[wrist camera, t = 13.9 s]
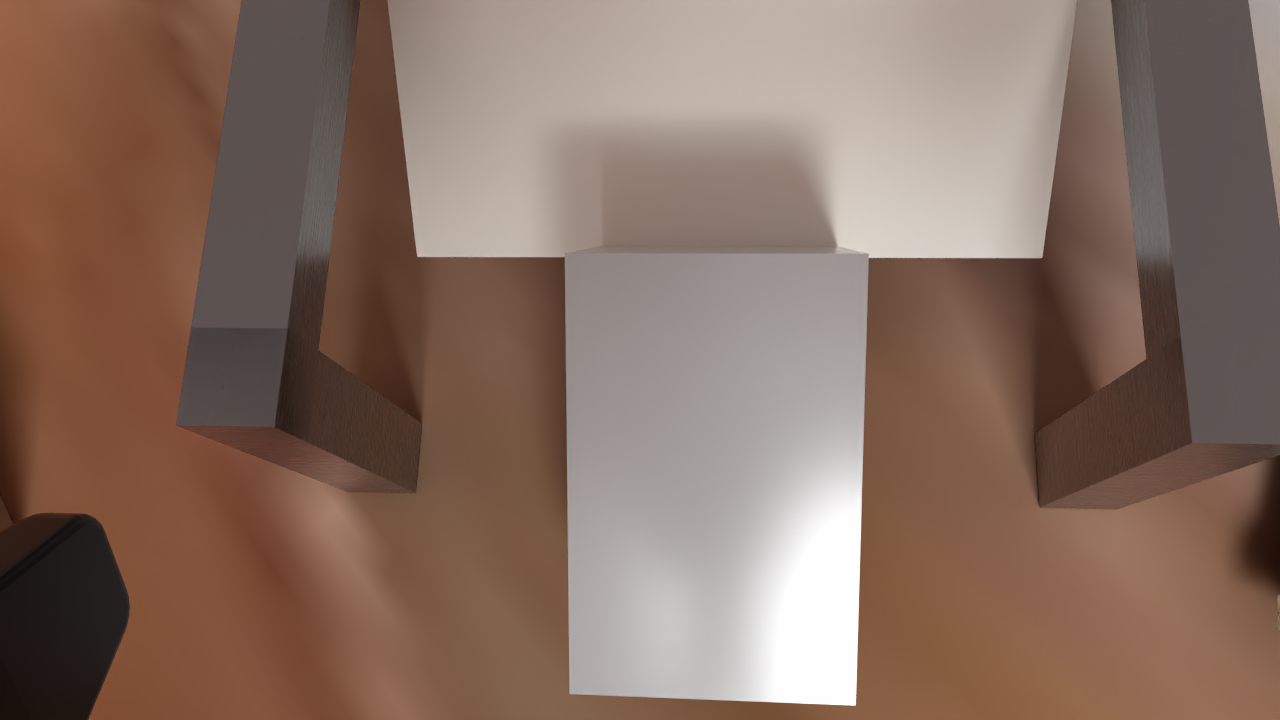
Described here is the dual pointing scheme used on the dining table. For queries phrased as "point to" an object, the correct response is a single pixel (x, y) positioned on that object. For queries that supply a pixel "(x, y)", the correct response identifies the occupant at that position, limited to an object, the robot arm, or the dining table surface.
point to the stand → (4, 516)
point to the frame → (1065, 449)
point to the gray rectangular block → (715, 470)
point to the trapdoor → (731, 124)
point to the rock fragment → (1279, 621)
